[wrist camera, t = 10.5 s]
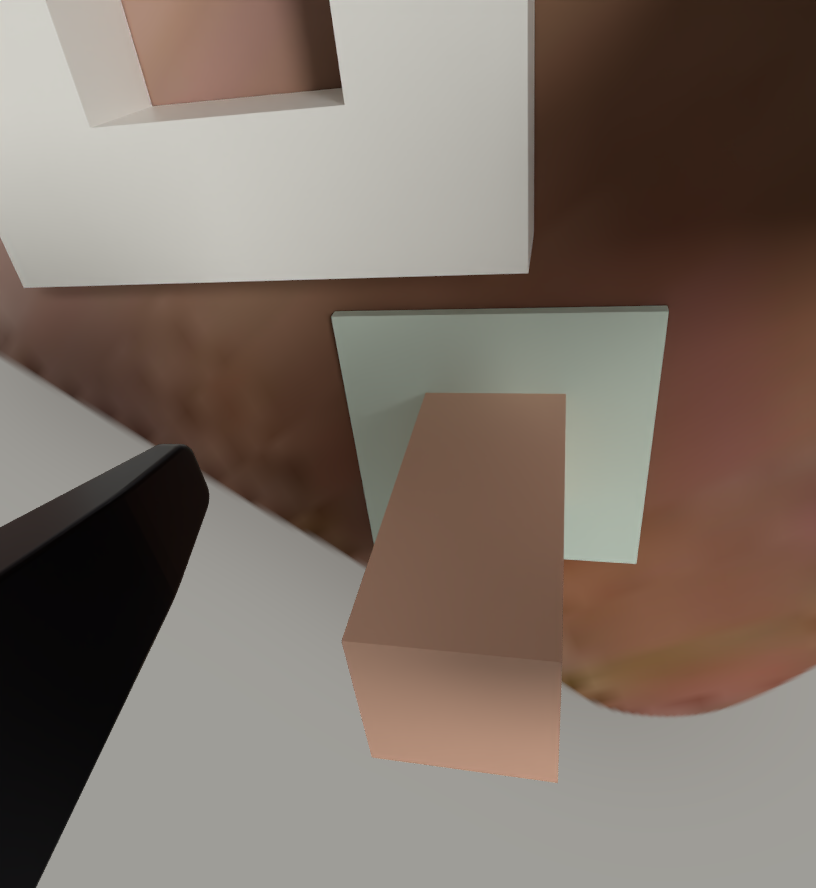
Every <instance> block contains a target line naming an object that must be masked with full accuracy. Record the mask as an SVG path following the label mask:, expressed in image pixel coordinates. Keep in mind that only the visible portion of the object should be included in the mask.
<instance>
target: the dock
mask: <svg viewBox="0 0 816 888" xmlns="http://www.w3.org/2000/svg"><path fill="white" fill-rule="evenodd" d="M329 1H330V8H331V15H332V22H333V29H334V35H335V42H336V49H337V56H338V63H339V70H340V76H341V83H342V88H336V89H326V90H315V91H305V92H294V93H284V94H274V95H263V96H253V97H243V98H232V99H222V100H211V101H201V102H191V103H180V104H170V105H160V106H152V104H151V100H150V97H149V94H148V90H147V87H146V83H145V80H144V77H143V73H142V70H141V67H140V63H139V60H138V57H137V53H136V50H135V46H134V43H133V40H132V36H131V33H130V30H129V26H128V23H127V20H126V16H125V13H124V9H123V6H122V3H121V0H0V238H1V240H2V242H3V244H4V246H5V248H6V250H7V253H8V255H9V257H10V259H11V261H12V263H13V266H14V268H15V270H16V272H17V274H18V276H19V278H20V281H21V283H22V285H23V287H24V288H34V287H68V286H103V285H138V284H173V283H207V282H242V281H277V280H312V279H346V278H381V277H416V276H451V275H485V274H520V273H528V272H529V265H530V258H531V250H532V243H533V236H534V38H535V0H329Z"/></svg>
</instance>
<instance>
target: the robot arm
mask: <svg viewBox="0 0 816 888" xmlns="http://www.w3.org/2000/svg"><path fill="white" fill-rule="evenodd" d="M208 504H209V490H208V487H207V484H206V482H205V479H204V477H203V475H202V472H201V470H200V467H199V465H198V462H197V460H196V458H195V455H194V453H193V451H192V450H191V449H190V448H189V447H188V446H187V445H184V444H160V445H157V446H154V447H153V448H151V449H149V450H147V451H145V452H143V453H141V454H140V455H137V456H135V457H134V458H132V459H130V460H128V461H126V462H124V463H122V464H120V465H118V466H116V467H114V468H112V469H111V470H109V471H107V472H105V473H103V474H101V475H99V476H98V477H95V478H94V479H92V480H90V481H88V482H86V483H84V484H82V485H80V486H78V487H76V488H74V489H72V490H71V491H69V492H67V493H65V494H63V495H61V496H59V497H57V498H55V499H53V500H52V501H50V502H48V503H46V504H44V505H42V506H40V507H38V508H36V509H34V510H32V511H30V512H29V513H27V514H25V515H23V516H21V517H19V518H17V519H15V520H13V521H12V522H10V523H8V524H6V525H4V526H2V527H0V888H36V886H37V884H38V882H39V880H40V878H41V876H42V874H43V872H44V870H45V868H46V866H47V864H48V861H49V859H50V857H51V855H52V853H53V851H54V849H55V847H56V845H57V843H58V841H59V839H60V836H61V834H62V832H63V830H64V828H65V826H66V824H67V822H68V820H69V818H70V816H71V814H72V812H73V809H74V807H75V805H76V803H77V801H78V799H79V797H80V795H81V793H82V791H83V788H84V786H85V784H86V782H87V780H88V778H89V776H90V774H91V772H92V770H93V768H94V766H95V763H96V762H97V759H98V757H99V755H100V753H101V751H102V749H103V747H104V745H105V743H106V741H107V739H108V736H109V734H110V732H111V730H112V728H113V726H114V724H115V722H116V720H117V718H118V716H119V714H120V711H121V709H122V707H123V705H124V703H125V701H126V699H127V697H128V695H129V692H130V691H131V689H132V686H133V684H134V682H135V680H136V678H137V676H138V674H139V672H140V670H141V668H142V666H143V663H144V661H145V659H146V657H147V655H148V653H149V651H150V649H151V647H152V645H153V643H154V640H155V639H156V636H157V634H158V632H159V630H160V628H161V626H162V624H163V622H164V620H165V617H166V615H167V613H168V611H169V609H170V607H171V605H172V603H173V600H174V598H175V595H176V593H177V591H178V588H179V585H180V583H181V580H182V578H183V575H184V572H185V569H186V566H187V564H188V560H189V558H190V555H191V552H192V549H193V547H194V544H195V541H196V538H197V535H198V533H199V530H200V527H201V524H202V521H203V519H204V516H205V513H206V510H207V508H208Z"/></svg>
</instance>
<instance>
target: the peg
mask: <svg viewBox="0 0 816 888" xmlns="http://www.w3.org/2000/svg"><path fill="white" fill-rule="evenodd" d="M565 430H566V394H523V393H425V396H424V399H423V402H422V405H421V408H420V411H419V413H418V416H417V419H416V422H415V425H414V428H413V431H412V434H411V437H410V440H409V443H408V446H407V449H406V452H405V455H404V458H403V461H402V464H401V467H400V470H399V473H398V476H397V479H396V481H395V484H394V487H393V490H392V493H391V496H390V499H389V502H388V505H387V508H386V511H385V514H384V517H383V520H382V523H381V526H380V529H379V532H378V535H377V538H376V541H375V544H374V547H373V549H372V552H371V555H370V558H369V561H368V564H367V567H366V570H365V573H364V576H363V579H362V582H361V585H360V588H359V591H358V594H357V597H356V600H355V603H354V606H353V609H352V612H351V615H350V617H349V620H348V623H347V627H346V629H345V632H344V635H343V638H342V645H343V649H344V652H345V656H346V660H347V664H348V668H349V671H350V675H351V679H352V683H353V687H354V691H355V694H356V698H357V702H358V706H359V710H360V713H361V717H362V721H363V725H364V728H365V732H366V736H367V740H368V744H369V747H370V752H371V755H372V757H373V758H380V759H388V760H395V761H402V762H409V763H417V764H424V765H431V766H439V767H447V768H454V769H461V770H468V771H475V772H482V773H490V774H498V775H504V776H512V777H519V778H527V779H534V780H541V781H548V782H555V783H557V782H558V761H559V760H558V759H559V733H560V706H561V680H562V637H563V568H564V499H565Z"/></svg>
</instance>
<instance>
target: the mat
mask: <svg viewBox="0 0 816 888" xmlns="http://www.w3.org/2000/svg"><path fill="white" fill-rule="evenodd" d="M668 314H669V310H668V306H613V307H555V308H497V309H439V310H381V311H335V312H334V313H333V315H332V316H331V318H332V324H333V329H334V334H335V340H336V345H337V350H338V356H339V361H340V366H341V372H342V377H343V382H344V387H345V393H346V398H347V403H348V409H349V414H350V419H351V425H352V430H353V435H354V441H355V446H356V451H357V457H358V462H359V467H360V473H361V478H362V483H363V489H364V494H365V499H366V505H367V510H368V515H369V521H370V526H371V531H372V537H373V542H374V544H375V541H376V538H377V535H378V532H379V529H380V526H381V523H382V520H383V517H384V514H385V511H386V508H387V505H388V502H389V499H390V496H391V493H392V490H393V487H394V484H395V481H396V479H397V476H398V473H399V470H400V467H401V464H402V461H403V458H404V455H405V452H406V449H407V446H408V443H409V440H410V437H411V434H412V431H413V428H414V425H415V422H416V419H417V416H418V413H419V411H420V408H421V405H422V402H423V399H424V396H425V393H523V394H566V430H565V499H564V559H570V560H585V561H601V562H616V563H631V564H636V562H637V554H638V547H639V539H640V531H641V523H642V516H643V508H644V500H645V493H646V485H647V477H648V469H649V462H650V454H651V446H652V438H653V431H654V423H655V415H656V407H657V400H658V392H659V384H660V376H661V369H662V361H663V353H664V345H665V338H666V330H667V322H668Z"/></svg>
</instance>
